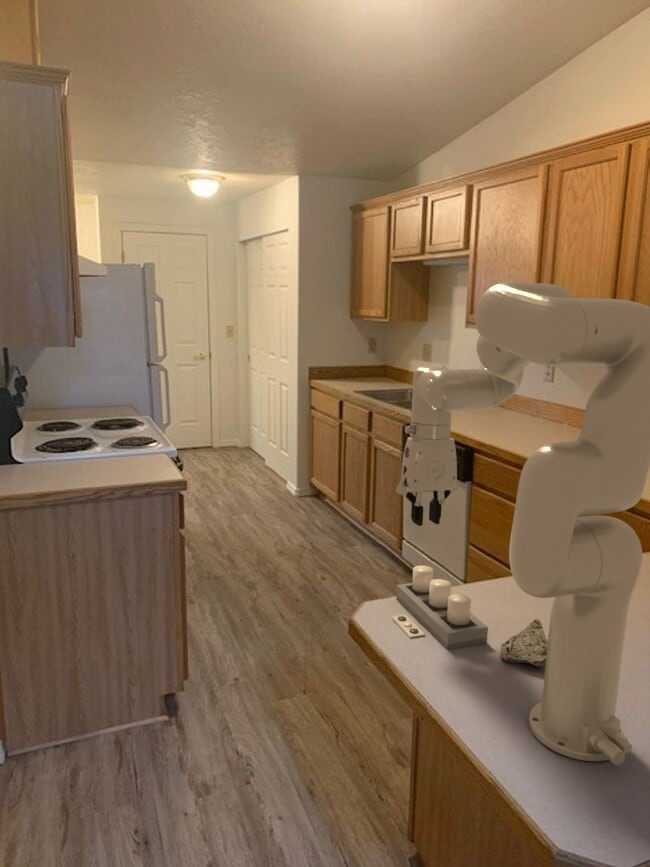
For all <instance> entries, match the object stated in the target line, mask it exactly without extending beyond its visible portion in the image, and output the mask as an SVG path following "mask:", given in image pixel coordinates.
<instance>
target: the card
mask: <svg viewBox="0 0 650 867" xmlns="http://www.w3.org/2000/svg"><path fill="white" fill-rule="evenodd" d="M391 619H392V621H394V623H396V625H397V626H398V627H399V628H400V629H401V630H402V631H403V632H404V633H405V634H406V636H408V637H409V639H413V638H419V637H425V636H426V633H424V632H423V631H422V629H421V628H419V626H418V625H417V624H416V623H415V622H413V620H412V619H410V618H409V616H408V615H407V614H400V615H393V616H391Z"/></svg>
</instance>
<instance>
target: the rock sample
mask: <svg viewBox="0 0 650 867" xmlns="http://www.w3.org/2000/svg"><path fill="white" fill-rule="evenodd" d="M547 645H548V638H547V636H546V634H545V631H544V628H543V624H542V622H541V620H540V619H539V618H535V619H534V620H533V621H531V622H530V623H529V624H528V625H527V626H526V627H525V628H524V629H523V630H521V631H520V632H519V633H517V634H515V635H513V636H512V635H511V637H509V638H508V639H507V640H506V641H505V642H503V643H501V645H500V646H501V647H500V653H499V655H500V658H501V659H502V660H504V661H507V662H509V663H516V664H517V663H518V664H522V663H524V664H530V665H532V666H535V667H536V668H540V669H543V668H544V669H545V666H546V655H547Z"/></svg>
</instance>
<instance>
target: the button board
mask: <svg viewBox="0 0 650 867" xmlns="http://www.w3.org/2000/svg"><path fill="white" fill-rule="evenodd" d="M396 597H397V598H396ZM395 599H396V600H397V601H398V602H399V603H400V604H401V605H402V606H403V607H404V608H405V610H407V611H408V613H410V614H411V615H412V616H413V617H414V618H415V619H416V620H417V621H418V622H419V623H420V624H421V625H422V626H423V627H424V628H425V629H426V630H427V631H429V633H430V634H431V635H432V636H433V637H434V638H435V639H436V640H438V642H439V643H440V644H441V645H442V646H443V647H444V648H445V649H446V650H452V649H458V648H463V647H469V646H476V645H480V644H486V643H487V642H488V631H489V627H488V626H487V625H486V624H485V623H484V622H482V621H481V620H480V619H479V618H478V617H476V616H475V615H474V614H473V613H472V612H470V621H469V623H468V624H466V625H456V624H452V623H450V622H449V621H448V620H447V610H448V607H446V608H437V607H434V606H431V605H430V604H429V592H417V591H415V590H413V588H412V582H409V583H401V584H396V595H395Z"/></svg>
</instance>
